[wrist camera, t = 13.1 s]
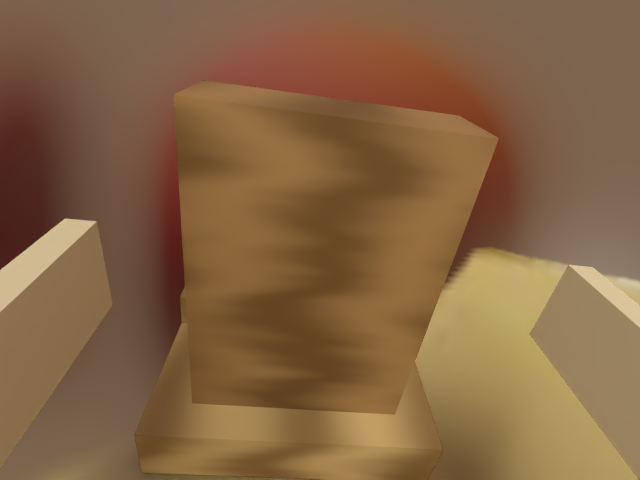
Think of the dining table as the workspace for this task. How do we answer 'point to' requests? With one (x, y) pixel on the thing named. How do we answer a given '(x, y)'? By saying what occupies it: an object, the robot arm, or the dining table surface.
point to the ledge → (281, 434)
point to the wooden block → (316, 242)
